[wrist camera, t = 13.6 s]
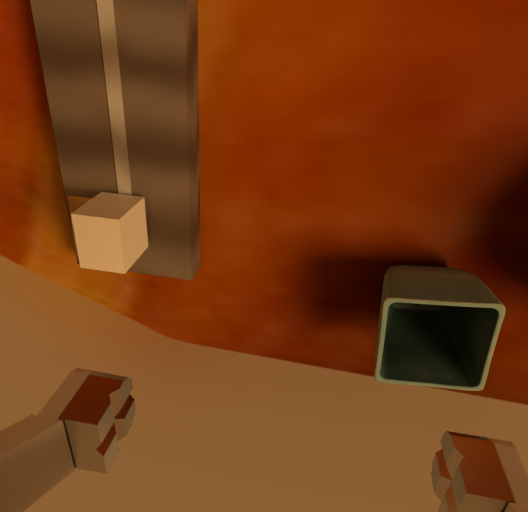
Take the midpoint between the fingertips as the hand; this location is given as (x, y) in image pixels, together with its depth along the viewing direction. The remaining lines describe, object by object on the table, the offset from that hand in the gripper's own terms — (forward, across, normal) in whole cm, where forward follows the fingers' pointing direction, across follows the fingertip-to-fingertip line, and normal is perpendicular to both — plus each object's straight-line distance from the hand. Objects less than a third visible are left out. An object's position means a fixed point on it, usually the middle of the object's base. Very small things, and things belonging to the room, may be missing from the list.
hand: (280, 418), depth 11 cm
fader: (+26, +17, +8) cm, 32 cm away
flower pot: (+29, -11, +13) cm, 34 cm away
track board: (+29, +17, +1) cm, 34 cm away
